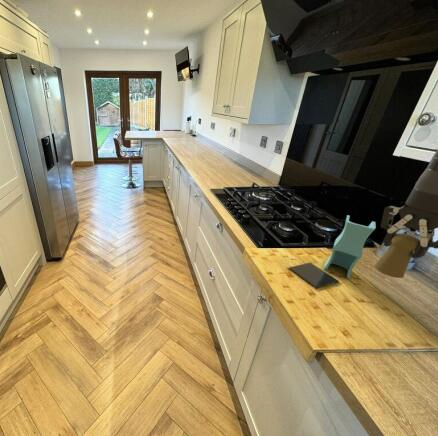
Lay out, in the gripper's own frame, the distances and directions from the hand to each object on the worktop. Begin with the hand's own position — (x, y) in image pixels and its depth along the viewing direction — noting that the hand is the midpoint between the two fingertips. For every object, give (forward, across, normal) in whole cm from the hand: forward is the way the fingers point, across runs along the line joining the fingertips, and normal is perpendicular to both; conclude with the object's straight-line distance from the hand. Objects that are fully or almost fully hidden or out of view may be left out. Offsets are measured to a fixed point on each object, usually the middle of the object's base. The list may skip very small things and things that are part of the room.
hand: (400, 251), depth 62 cm
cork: (+7, 0, 0) cm, 7 cm away
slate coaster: (+21, +16, +1) cm, 27 cm away
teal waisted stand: (+21, +16, -12) cm, 30 cm away
